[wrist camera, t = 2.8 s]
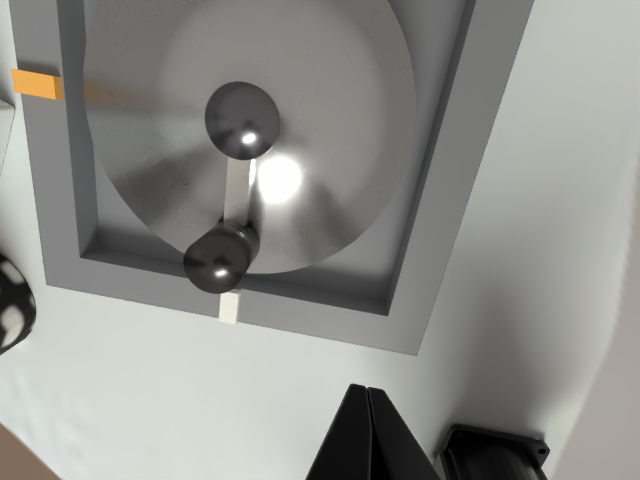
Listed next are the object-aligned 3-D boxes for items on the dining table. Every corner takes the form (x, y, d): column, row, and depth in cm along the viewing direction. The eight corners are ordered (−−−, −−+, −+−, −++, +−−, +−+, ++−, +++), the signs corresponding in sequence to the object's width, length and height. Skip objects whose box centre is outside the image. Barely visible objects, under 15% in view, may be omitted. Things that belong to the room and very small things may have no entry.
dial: (98, -96, 13) (-13, -192, 9) (450, -36, 13) (497, -107, 9) (114, 235, 18) (46, 268, 14) (371, 283, 18) (377, 331, 14)
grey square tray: (535, -95, 13) (593, -163, 10) (407, 323, 20) (418, 361, 17) (51, -176, 14) (-38, -265, 11) (87, 262, 21) (39, 288, 17)
